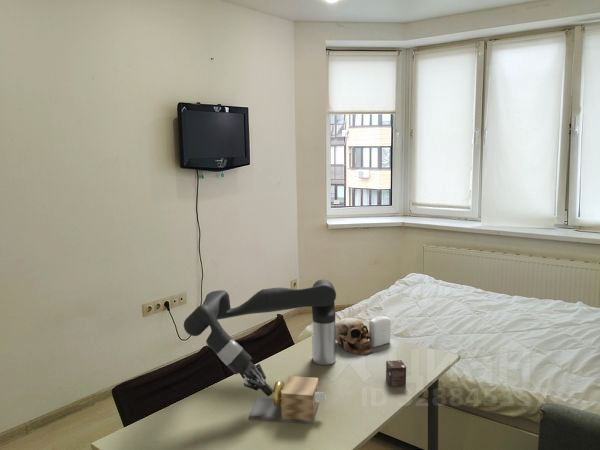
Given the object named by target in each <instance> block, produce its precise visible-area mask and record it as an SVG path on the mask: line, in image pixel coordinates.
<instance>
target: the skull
mask: <svg viewBox="0 0 600 450" xmlns="http://www.w3.org/2000/svg"><path fill="white" fill-rule="evenodd" d="M335 329H336V342H337V343H338V344H339V345H340V346H342V347H343V348H344V351H345V352H348V353H353V354H356V355H360V356H361V355H365V356H366V355H368V356H369V355H371V354H372V353H374V352H373V351H374V350H373V348H372V346H370V341H369V339H370V338H371V335H370V334H369V328H368V326H367V325H365V324H364V323H363V321H362V320H360V319H358V318H355V317H345V318H342V319H339V320H338V321H337V322H335Z"/></svg>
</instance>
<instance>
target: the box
mask: <svg viewBox="0 0 600 450" xmlns="http://www.w3.org/2000/svg"><path fill="white" fill-rule="evenodd" d="M385 380H386V382H387V384H388V386H389V387H390V388H391V387H392V388H394V387H406V386H407V366H406V365H405V363H404V362H403V361H402V360H400V359H399V360H397V359H396V360H386V361H385Z"/></svg>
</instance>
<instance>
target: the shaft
mask: <svg viewBox="0 0 600 450" xmlns="http://www.w3.org/2000/svg"><path fill="white" fill-rule="evenodd" d="M284 386H285V382H284V381H283V380H275V382H274V385H273V393H272V398H273V405H274V406H275V407H282V402H281V393H282V390H283V388H284ZM326 395H327V394H326V391H319V392H315V401H316V402H319V403H326V399H327V396H326Z"/></svg>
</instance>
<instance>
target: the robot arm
mask: <svg viewBox="0 0 600 450" xmlns="http://www.w3.org/2000/svg"><path fill="white" fill-rule="evenodd" d="M336 298H337V293H336V289H335V287H334V285H333V283H332V282H331V281H329V280H327V279H324V278H321V279H318V280H317V281H315V282H314V284H313V285H312V286H311V287H308V288H307V287H306V288H288V287H270V288H263V289H260V290H259V291H257V292H256V293H254V294H253V295H252V296H251V297H250V298H249V299H248V300H247V301H245V302H244V303H242V304H240V305H239V306H236V307H233V308H231V300H230V295H229V292H228V291H226V290H213V291H211V292H208V293H207V294H206V296H205V299H204V301H203V303H202V304H201V305H199V306H197V307H196V308H195V309H194V310H193V311H192V312H191V313H190V314H189V315H188V317H186V318H185V320H184V322H183V329H184V331H185V332H186V334H188V335H190V336H192V337H198V336H200V335H201V334H202V333H204V331H205V330H206V329H208V328H209V327H210V330H211V331H210V333H209V335H208V337H207V338H206V341H205V343H206V345H207V346H208V347H209V348H210V349H211V350H212V351H213V352H214V353H215V354H216V355H217V356H218V358H219V359H220V360H221V362H222V363H224V364H225V366H226V367H227V368H229V370H230V371H231V372H232V373H233V374H235V375H238V374H239V375H240V376H241V378H242V379H243V380H244V383H243V386H244V387H245V388H248V389H251V390H253V391H259V390H261V391H262V392H263V393H264V394H265V396H267V397H270V396H271V395H273V390H274V388H272V387H271V386H270V385H269V384H268V382H267V381H266V380H267V376H266V374H265V372H264V371H263V368H262V365H260V363H257V364H255V363H253V362H252V356H251V355H250V354H249V353H248V352H247V351H246V350H245V349H244V348H243V347H242V346H241V345H240V344H239V343H238V342H237V341H236V340H235V339H233V338H232V337H231V335H229V334H228V332H226V331H225V329H224V328H223V327H222V325H221V323H220V322H219V321H218V320H224V319H230V318H234V317H241V316H245V315H252V314H253V315H255V314H263V313H264V314H265V313H273V312H280V311H287V310H293V309H294V310H295V309H298V308H300V309H301V308H311V313H312V315H311V316H312V337H311V342H312V343H311V344H312V347H311V348H312V356H311V357H312V360H313V362H314V363H315V364H317V365H320V366H321V365H322V366H328V365H332V364H334V363H336V359H337V358H336V357H337V353H336V352H337V350H336V349H337V348H336V347H337V346H336V344H337V343H336V342H337V341H336V329H335V325H336V309H335V308H336V307H335V301H336Z"/></svg>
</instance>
